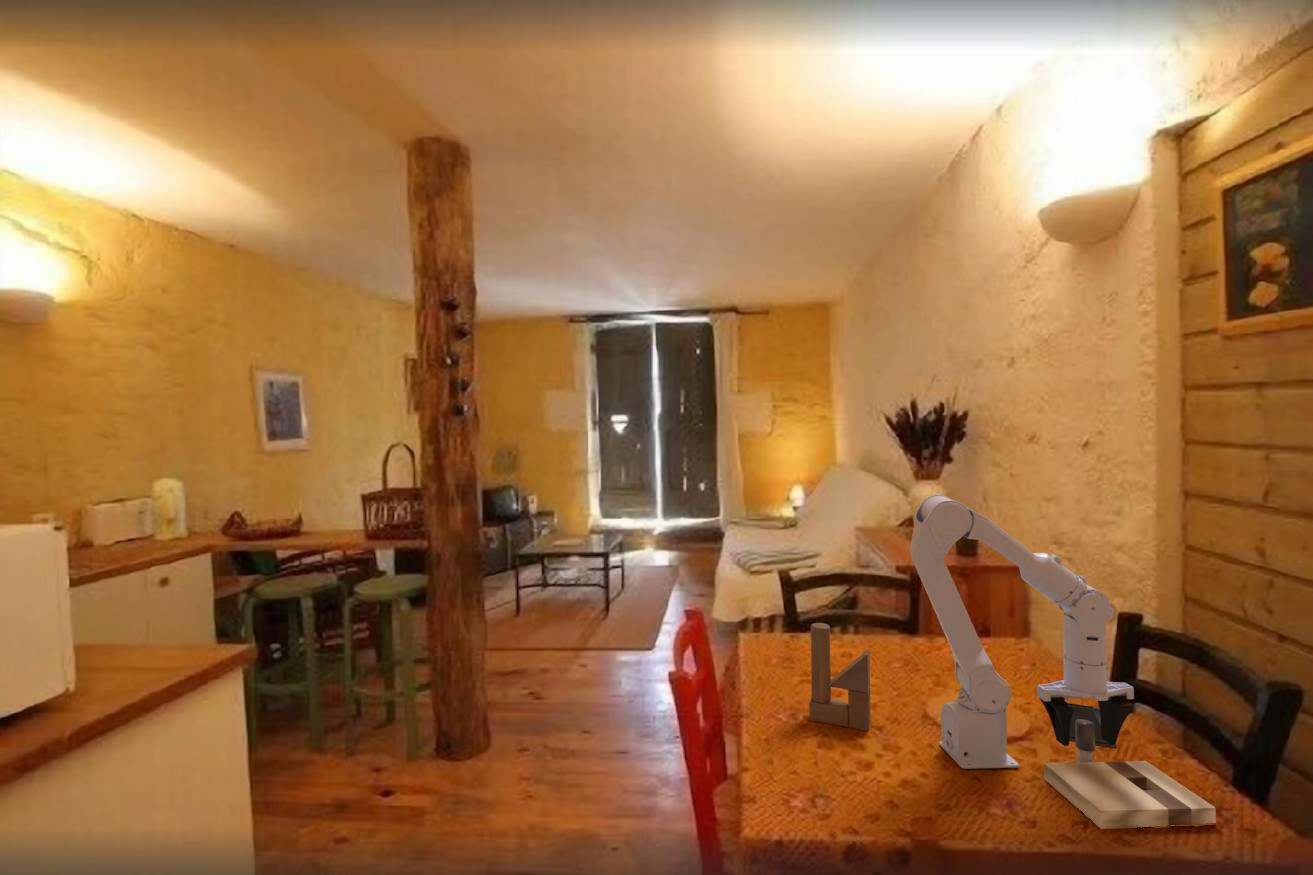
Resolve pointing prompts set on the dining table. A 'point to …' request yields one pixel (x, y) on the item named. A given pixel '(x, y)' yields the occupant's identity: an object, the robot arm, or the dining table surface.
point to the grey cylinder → (1085, 740)
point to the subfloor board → (1127, 794)
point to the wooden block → (838, 685)
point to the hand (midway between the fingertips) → (1085, 742)
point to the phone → (1090, 715)
